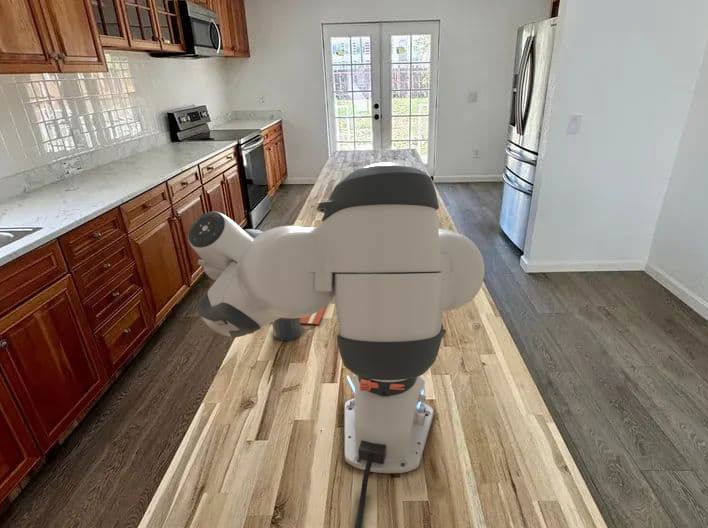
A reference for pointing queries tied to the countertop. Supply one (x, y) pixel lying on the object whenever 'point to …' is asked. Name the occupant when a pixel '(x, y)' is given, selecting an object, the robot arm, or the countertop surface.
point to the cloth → (313, 318)
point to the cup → (287, 328)
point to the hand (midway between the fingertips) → (265, 282)
